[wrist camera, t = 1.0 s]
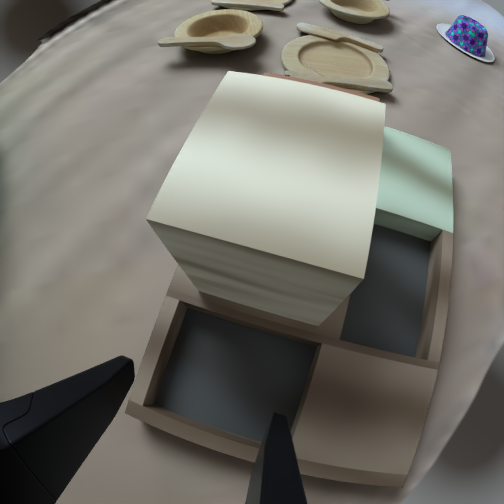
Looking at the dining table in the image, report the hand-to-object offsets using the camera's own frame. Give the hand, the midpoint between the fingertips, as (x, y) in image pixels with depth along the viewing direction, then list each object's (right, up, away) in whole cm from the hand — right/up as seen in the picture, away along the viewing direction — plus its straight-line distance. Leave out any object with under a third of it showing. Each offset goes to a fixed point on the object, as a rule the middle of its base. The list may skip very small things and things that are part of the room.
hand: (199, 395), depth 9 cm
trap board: (+7, +3, +14) cm, 16 cm away
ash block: (+3, +5, +13) cm, 14 cm away
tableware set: (+7, +37, +29) cm, 47 cm away
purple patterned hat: (+39, +41, +29) cm, 64 cm away
